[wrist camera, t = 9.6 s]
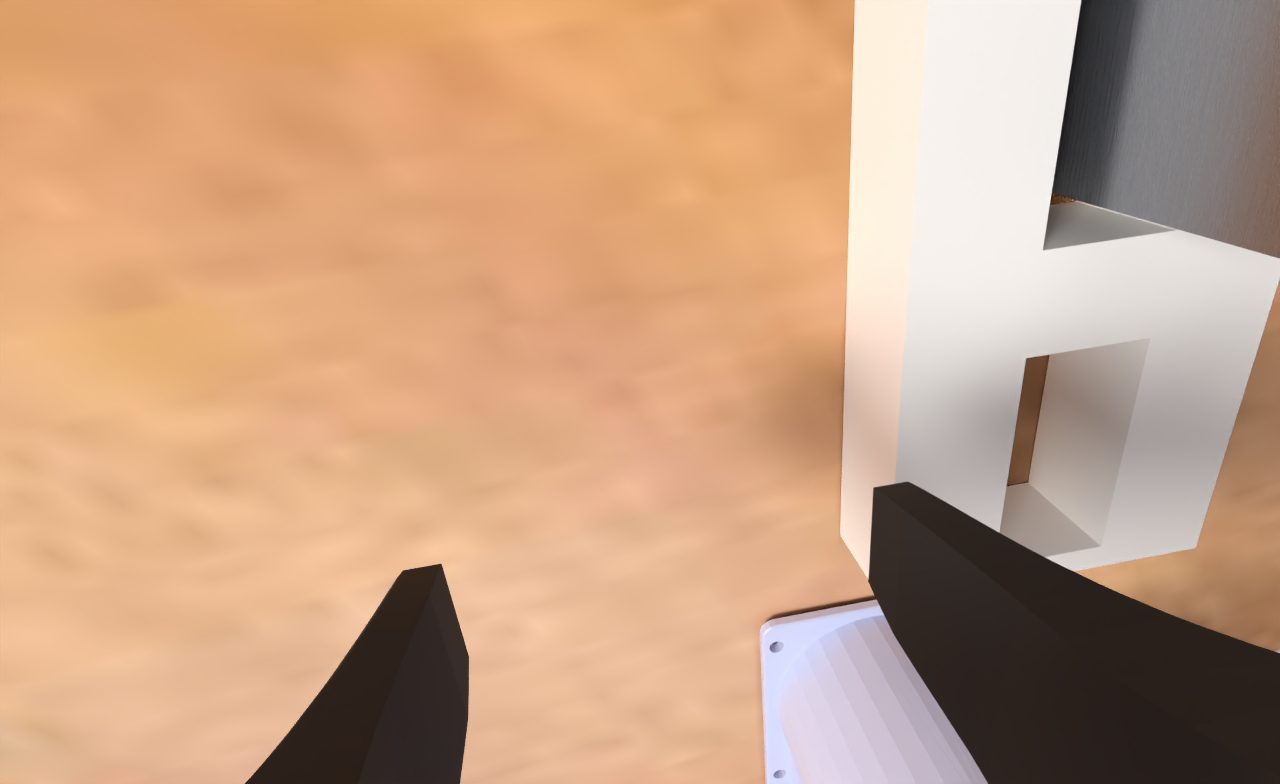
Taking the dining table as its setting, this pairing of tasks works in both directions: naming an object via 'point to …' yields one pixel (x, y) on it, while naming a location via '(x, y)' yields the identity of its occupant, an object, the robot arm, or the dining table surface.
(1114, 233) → the white board with holes
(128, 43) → the dining table surface
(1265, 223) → the gray rectangular block
